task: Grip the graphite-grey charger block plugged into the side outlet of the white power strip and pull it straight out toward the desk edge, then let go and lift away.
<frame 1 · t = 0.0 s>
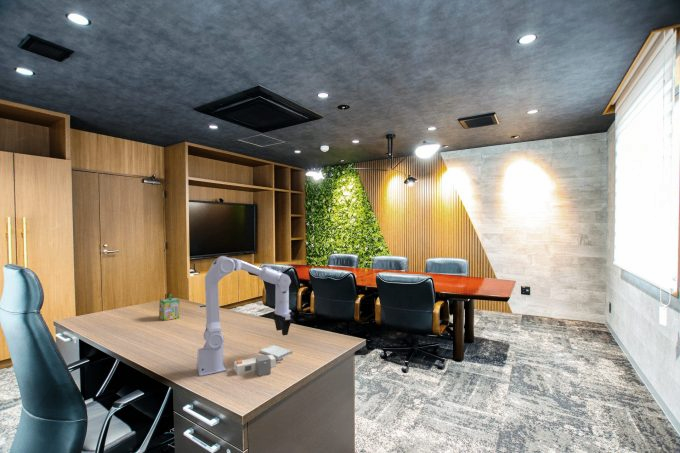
hand: (282, 332, 142), 10 cm above the table, tool pointing down, fingers open, 7 cm apart
charger: (262, 364, 126), point 3 cm above the table, slide at 0.0 cm
hard drive: (276, 354, 146), on the table
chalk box: (169, 318, 201), on the table
power strip: (255, 368, 129), on the table
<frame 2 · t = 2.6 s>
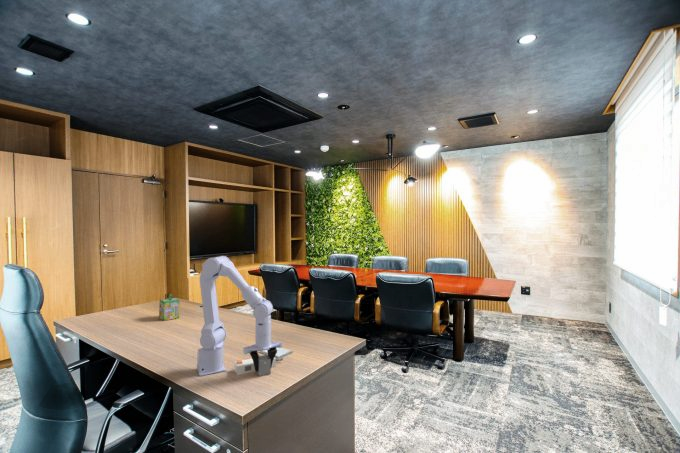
hand: (263, 369, 125), 1 cm above the table, tool pointing down, fingers closed on charger, 4 cm apart
charger: (262, 364, 126), point 3 cm above the table, slide at 0.0 cm, touching gripper
everything else where it was.
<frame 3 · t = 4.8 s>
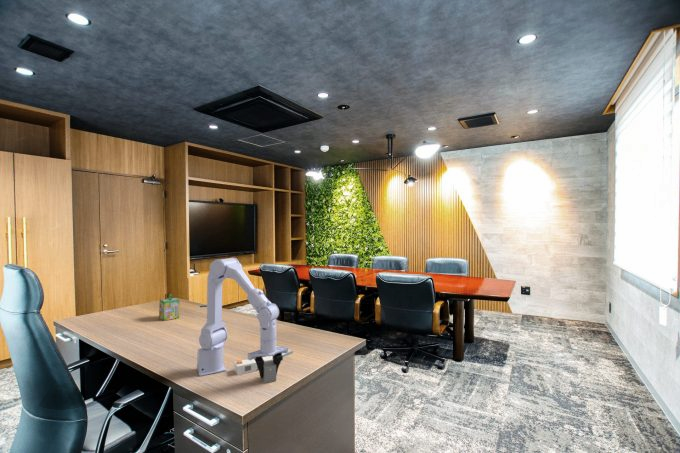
hand: (268, 375, 120), 1 cm above the table, tool pointing down, fingers closed on charger, 4 cm apart
charger: (267, 370, 120), point 3 cm above the table, slide at 6.4 cm, touching gripper
everything else where it was.
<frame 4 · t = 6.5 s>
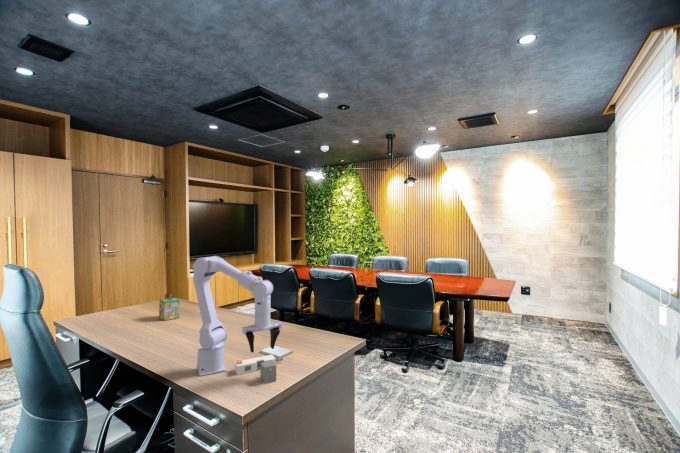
hand: (262, 349, 123), 10 cm above the table, tool pointing down, fingers open, 7 cm apart
charger: (267, 370, 120), point 3 cm above the table, slide at 6.5 cm
everything else where it was.
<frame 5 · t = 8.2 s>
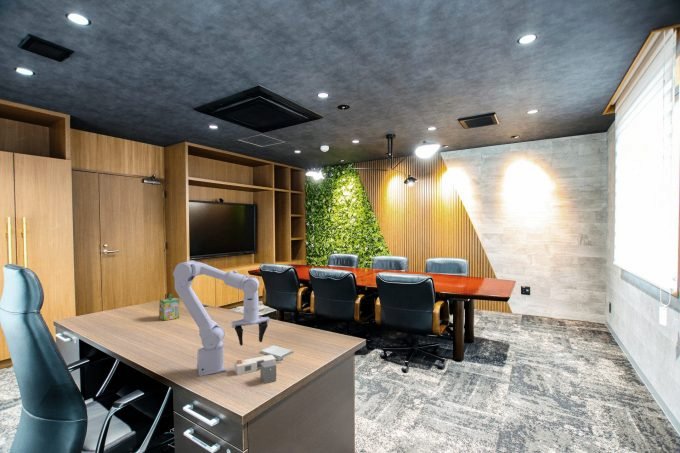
hand: (250, 343, 129), 10 cm above the table, tool pointing down, fingers open, 7 cm apart
nothing on the table moved.
at the end: charger slide at 6.5 cm; the gripper is holding nothing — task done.
